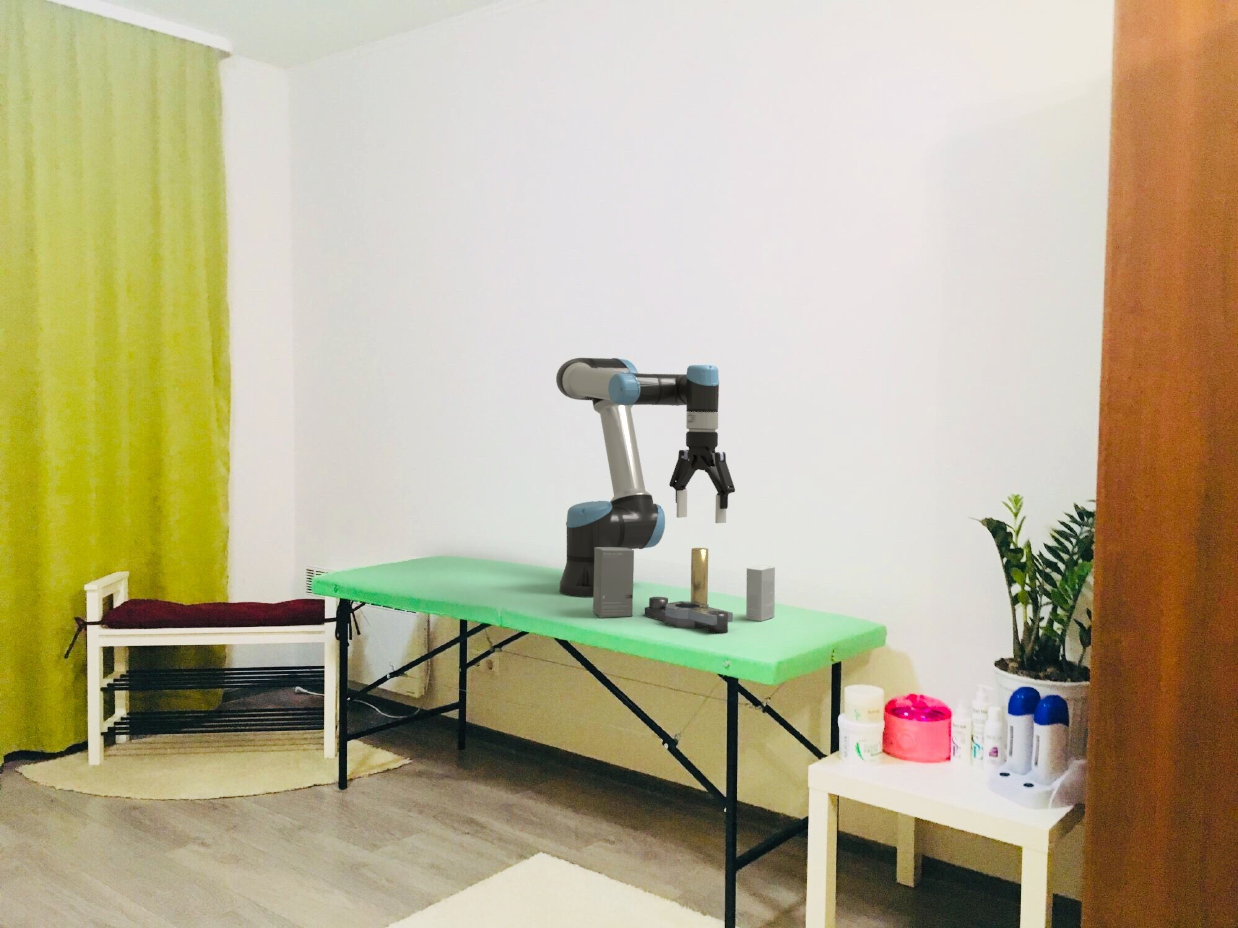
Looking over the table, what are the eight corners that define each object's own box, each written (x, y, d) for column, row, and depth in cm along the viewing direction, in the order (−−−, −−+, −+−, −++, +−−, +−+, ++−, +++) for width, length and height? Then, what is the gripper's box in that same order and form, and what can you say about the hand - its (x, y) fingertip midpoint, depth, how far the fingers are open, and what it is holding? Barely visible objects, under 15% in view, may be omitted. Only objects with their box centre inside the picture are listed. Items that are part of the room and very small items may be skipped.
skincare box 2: (759, 614, 241) (759, 564, 240) (774, 617, 238) (775, 566, 238) (745, 619, 236) (746, 567, 236) (761, 621, 234) (762, 569, 233)
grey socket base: (636, 616, 238) (636, 599, 238) (667, 611, 244) (667, 594, 244) (708, 635, 219) (708, 617, 219) (740, 630, 225) (740, 612, 225)
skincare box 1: (599, 618, 235) (600, 550, 234) (591, 612, 242) (592, 545, 241) (634, 616, 238) (635, 549, 237) (626, 610, 245) (626, 544, 244)
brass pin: (687, 610, 245) (688, 548, 244) (699, 608, 247) (700, 547, 246) (698, 613, 242) (699, 550, 241) (710, 611, 244) (711, 549, 243)
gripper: (655, 429, 249) (654, 515, 251) (727, 432, 230) (726, 526, 231) (678, 429, 254) (677, 514, 255) (751, 432, 234) (749, 524, 236)
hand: (700, 520), depth 243 cm, fingers open, 13 cm apart
